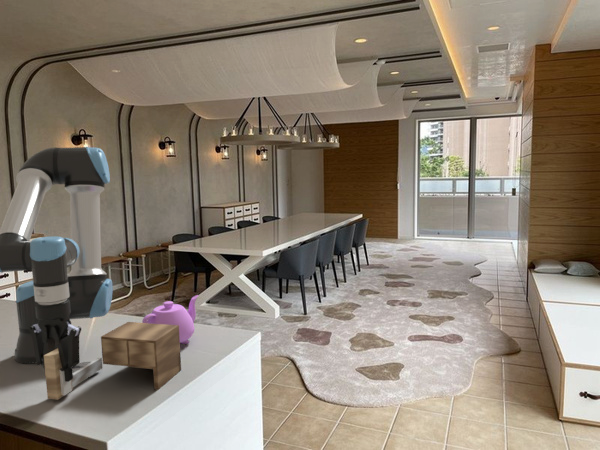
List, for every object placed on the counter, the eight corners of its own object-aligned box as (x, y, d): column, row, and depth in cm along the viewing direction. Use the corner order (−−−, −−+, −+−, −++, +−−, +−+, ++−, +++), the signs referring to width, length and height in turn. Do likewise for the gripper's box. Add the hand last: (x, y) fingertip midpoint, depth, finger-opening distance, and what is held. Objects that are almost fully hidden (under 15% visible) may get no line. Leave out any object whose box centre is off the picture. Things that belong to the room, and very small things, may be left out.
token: (67, 377, 128) (67, 369, 128) (84, 368, 134) (83, 360, 134) (85, 380, 126) (85, 371, 126) (101, 371, 132) (100, 362, 132)
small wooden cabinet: (103, 384, 124) (100, 336, 122) (130, 365, 135) (128, 321, 134) (158, 390, 120) (155, 341, 118) (181, 369, 132) (178, 325, 130)
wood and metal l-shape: (58, 399, 114) (54, 356, 112) (47, 398, 114) (43, 355, 113) (105, 368, 131) (102, 330, 130) (96, 367, 132) (93, 329, 130)
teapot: (186, 328, 166) (184, 290, 165) (214, 337, 156) (213, 297, 155) (129, 346, 150) (126, 305, 148) (156, 359, 140) (154, 314, 138)
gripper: (12, 303, 112) (21, 396, 115) (69, 306, 108) (77, 402, 111) (36, 295, 119) (44, 382, 122) (91, 298, 115) (98, 388, 118)
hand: (60, 392), depth 116 cm, fingers closed on wood and metal l-shape, 3 cm apart
